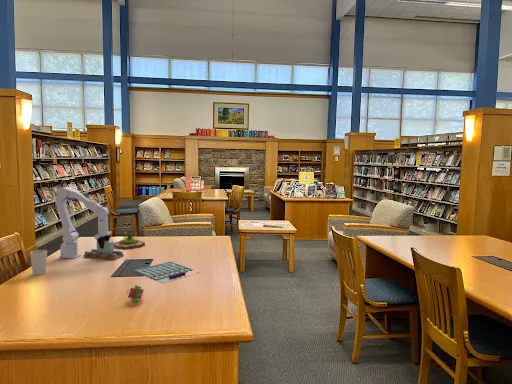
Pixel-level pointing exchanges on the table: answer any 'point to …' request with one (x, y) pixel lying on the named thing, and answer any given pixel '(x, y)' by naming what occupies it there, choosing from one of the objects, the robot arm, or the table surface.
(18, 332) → the table surface
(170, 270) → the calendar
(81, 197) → the robot arm
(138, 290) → the geometric puzzle
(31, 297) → the table surface
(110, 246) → the door panel
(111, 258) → the door track
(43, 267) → the cup
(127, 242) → the plant
